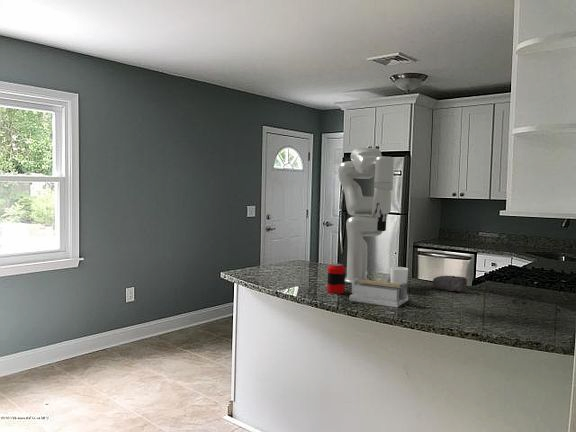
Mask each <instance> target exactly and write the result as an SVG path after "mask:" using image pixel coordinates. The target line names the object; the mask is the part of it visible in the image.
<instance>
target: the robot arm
mask: <svg viewBox="0 0 576 432" xmlns="http://www.w3.org/2000/svg"><path fill="white" fill-rule="evenodd" d="M394 165H395V160H394V157H392V156H383V155H382V152H381V150H380V149H378V148H376V147H356V148H354V149H353V150H352V151H351V154H350V161H349V160H348V161H343V162H342V163H340V165H339V166H338V178H339V182H340V184H341V187H342V189H343V193H344V199H345V206H346V211H347V213H348V214H349V215H350V217H349V218H347V219H346V223H345V225H346V226H345V227H346V236H347V237H346V238H347V249H346V250H347V257H346V259H347V260H346V276H345V283H348V284H352V280H353V279H355V278H358V279H362V280H370V278H368V277H367V276H368V274H369V271H368V270H367V269H368V243H367V241H366V240H365V239H364V237H378V236H381V234H382V233H383V232H385V231H386V230H387V218H388V215H389V214H390V213H391V211H392V191H393V188H394V187H393V186H394V168H395V167H394ZM373 177H374V182H373V183H374V184H373V186H374V187H373V190H374V193H373V196H364V195H363V192H362V187H361V186H360V184H359V183H358V182H357V181H356V180H354V179H360V180H361V179H365V180H367V179H369V180H370V179H372V178H373ZM358 284H359V282H358Z"/></svg>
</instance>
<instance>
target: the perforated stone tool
mask: <svg viewBox="0 0 576 432" xmlns="http://www.w3.org/2000/svg"><path fill="white" fill-rule="evenodd" d="M467 281H468V279H467V278H466V276H465V277H464V276H455V275H440V276H437V277H434V278H433V279H432V283H431V284H432V286H433V287H434V288H436V290H437V289H438V290H442V291H445V292H446V291H447V292H457V293H461V292H463V291H465V290H466V288H467V286H468V282H467Z"/></svg>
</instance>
